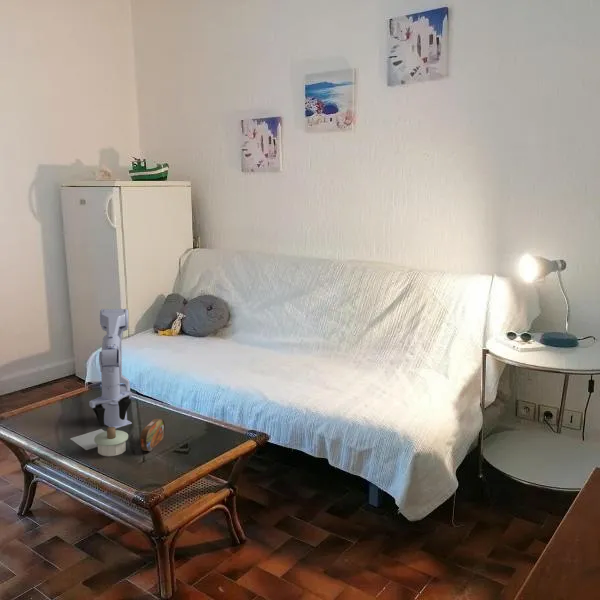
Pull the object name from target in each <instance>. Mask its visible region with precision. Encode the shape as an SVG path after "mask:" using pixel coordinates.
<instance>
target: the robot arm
mask: <svg viewBox="0 0 600 600" xmlns="http://www.w3.org/2000/svg"><path fill="white" fill-rule="evenodd" d="M99 324H100V327H101V329H102V331H103V332H106V334H105V335H104V336H103V338H102V345H101V350H100V351H99V353H98V362H99V363H98V364H99V371H100V374H101V376H100V377H101V396H98V397H96V398H95V399H91V400H89V407H90V408H91V409H92V411H93V413H94V414H95V416H96V419H97V421H98V425H99V426H101V427H104V426H107V428H108V427H115V429H116V430H117V429H119V428H121V427H125V426H129V425H131V424H133V423H132V422H131V421H130V420H128V409H129V406H130V404H132V400H131V398H133V392H132V391H131V383H130V380H129V379H128V378H127V377H126V376H124V375H123V361H122V359H123V358H122V357H123V356H122V355H123V354H122V353H123V350H122V348H123V346H122V344H123V343H122V336H123V334H124V332H126V331H128V329H129V309H127V308H112V309H111V308H110V309H109V308H106V309H105V308H101V309H100V311H99Z"/></svg>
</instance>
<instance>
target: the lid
mask: <svg viewBox="0 0 600 600" xmlns="http://www.w3.org/2000/svg"><path fill="white" fill-rule="evenodd" d="M104 431H105V432H102V433H99V434H98V435H96V436H95V438H94V441H95V443H96V444H98V445H101V446H115V445H119V444H122V443H124V442H127V441H128V439H129V434H128V433H127V432H126V431H124V430H118V429H117V428H116V429H115V427H108V426H107V428H106V430H104Z"/></svg>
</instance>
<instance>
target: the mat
mask: <svg viewBox="0 0 600 600" xmlns="http://www.w3.org/2000/svg"><path fill="white" fill-rule="evenodd" d="M105 431H106V430H103V429H102V428H100V429H97V430H93V431H90V432H87V433H84V434H80V435H77V436H73V437H71V438H69V440H71V441H72V442H73V443H75V444H77V446H80V447H81V448H82V449H84V450H85V451H88V450H92V449H95V448H98V444H96V443H95V441H94V438H95V436H96V435H98V434H99V433H102V432H105Z"/></svg>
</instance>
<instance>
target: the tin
mask: <svg viewBox="0 0 600 600" xmlns="http://www.w3.org/2000/svg"><path fill="white" fill-rule="evenodd" d="M164 420H165V419H163V418H154V419H152V420H151V421H150V422H148V424H146V425H145V427H143V429H142V430H141V433H140V436H139V437H140V438H139V440H140V448H141V450H142V451H144V452H152V451H153V450H154V448H155V447H156V446H157V445H158V444H159V443H161V441H162V440H164V436H165V435H166V434H165V433H166V424H165V421H164Z"/></svg>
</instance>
